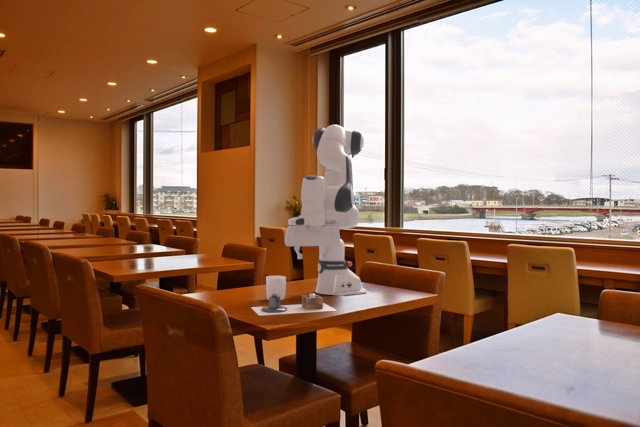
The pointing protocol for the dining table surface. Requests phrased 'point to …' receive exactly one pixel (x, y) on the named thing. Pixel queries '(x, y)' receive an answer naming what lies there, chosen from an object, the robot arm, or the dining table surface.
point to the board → (294, 309)
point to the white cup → (276, 286)
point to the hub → (274, 305)
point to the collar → (312, 302)
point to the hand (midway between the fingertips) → (312, 258)
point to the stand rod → (311, 295)
